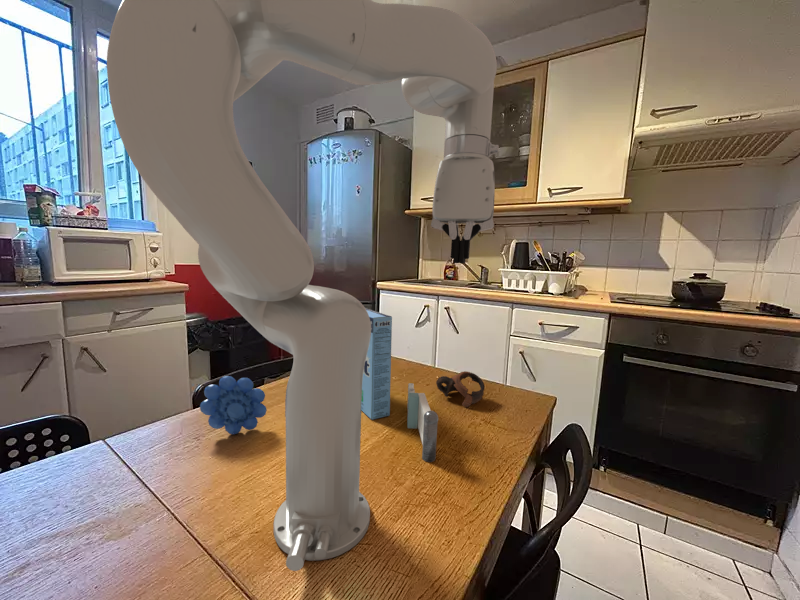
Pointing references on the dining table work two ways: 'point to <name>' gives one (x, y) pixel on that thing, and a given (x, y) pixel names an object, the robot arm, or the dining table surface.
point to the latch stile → (412, 410)
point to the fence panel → (410, 389)
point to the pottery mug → (461, 387)
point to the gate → (422, 413)
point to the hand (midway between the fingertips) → (459, 262)
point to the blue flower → (233, 404)
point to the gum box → (377, 367)
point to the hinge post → (429, 436)
